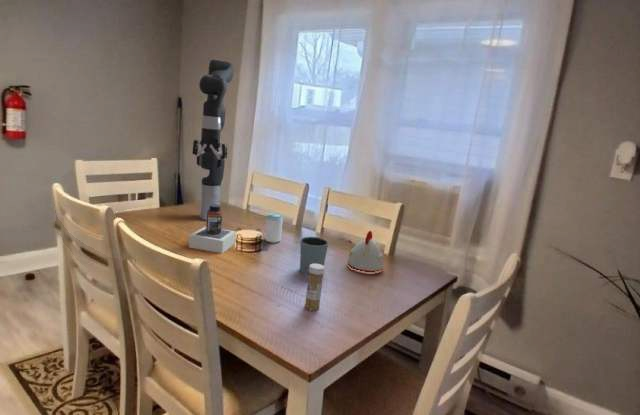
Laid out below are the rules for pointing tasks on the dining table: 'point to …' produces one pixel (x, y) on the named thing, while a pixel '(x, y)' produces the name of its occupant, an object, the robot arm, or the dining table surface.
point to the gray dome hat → (366, 256)
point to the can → (273, 227)
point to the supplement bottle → (214, 219)
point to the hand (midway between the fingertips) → (209, 166)
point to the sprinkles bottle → (314, 286)
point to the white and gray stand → (212, 240)
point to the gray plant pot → (312, 252)
